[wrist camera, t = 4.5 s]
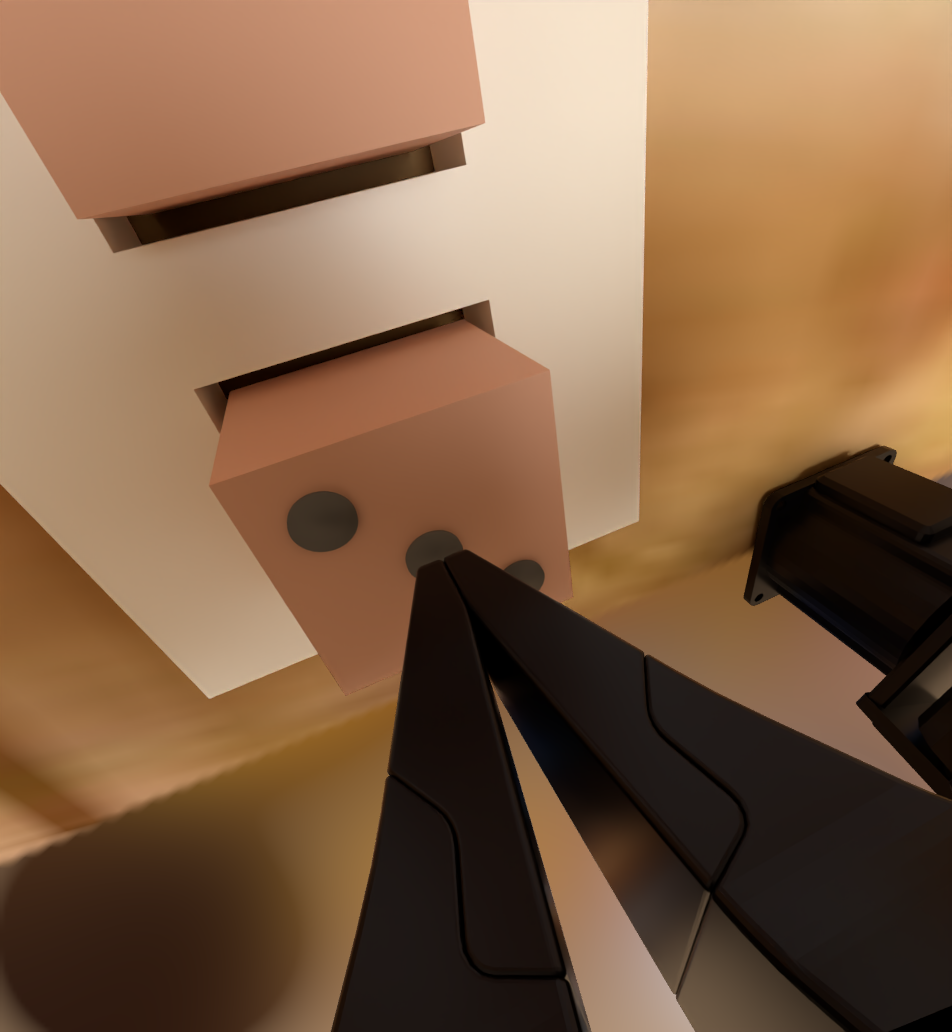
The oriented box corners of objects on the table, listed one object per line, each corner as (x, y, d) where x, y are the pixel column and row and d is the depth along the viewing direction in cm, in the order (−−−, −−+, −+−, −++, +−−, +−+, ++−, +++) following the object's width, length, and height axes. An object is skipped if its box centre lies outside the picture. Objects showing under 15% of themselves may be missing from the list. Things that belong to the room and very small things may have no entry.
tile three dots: (500, 503, 13) (575, 600, 10) (326, 570, 12) (346, 700, 9) (463, 319, 10) (552, 371, 7) (230, 391, 9) (207, 488, 6)
